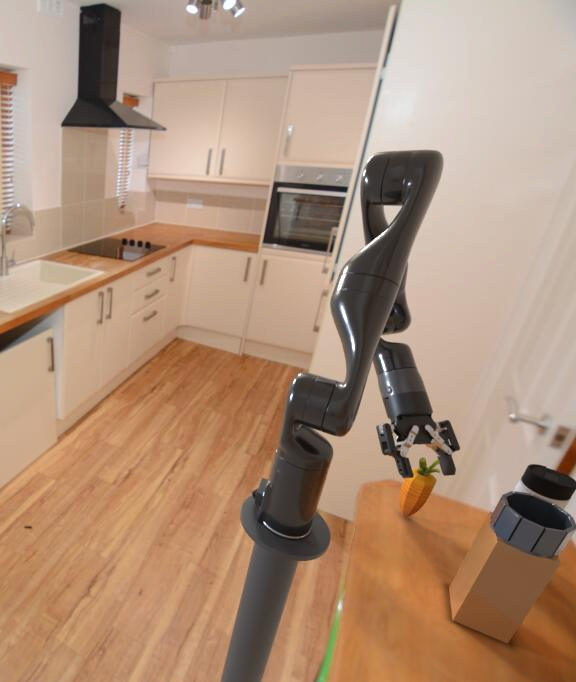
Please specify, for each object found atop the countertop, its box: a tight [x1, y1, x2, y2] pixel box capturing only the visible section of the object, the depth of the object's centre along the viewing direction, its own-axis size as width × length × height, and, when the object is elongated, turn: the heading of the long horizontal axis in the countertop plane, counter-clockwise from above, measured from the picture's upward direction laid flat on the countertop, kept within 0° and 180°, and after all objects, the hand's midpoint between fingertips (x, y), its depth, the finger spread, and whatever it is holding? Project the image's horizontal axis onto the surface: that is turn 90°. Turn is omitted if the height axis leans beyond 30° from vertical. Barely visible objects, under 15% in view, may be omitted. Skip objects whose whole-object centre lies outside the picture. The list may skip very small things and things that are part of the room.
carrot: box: [398, 456, 441, 518], centre depth 90 cm, size 5×5×15 cm
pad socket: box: [448, 490, 576, 644], centre depth 70 cm, size 8×8×23 cm
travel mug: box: [513, 463, 576, 511], centre depth 81 cm, size 6×7×20 cm
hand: (428, 476), depth 88 cm, fingers open, 8 cm apart
